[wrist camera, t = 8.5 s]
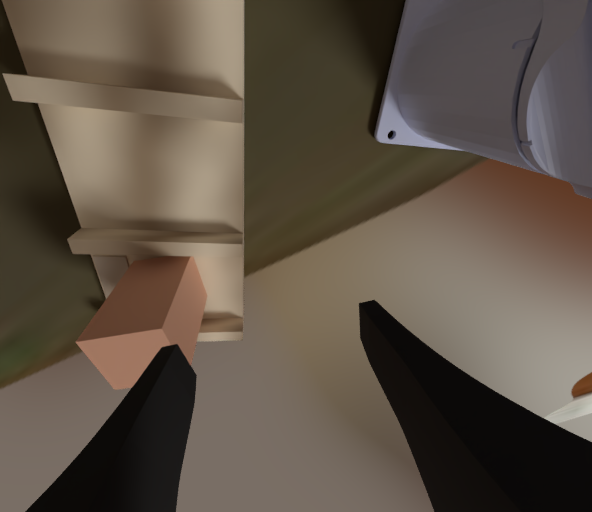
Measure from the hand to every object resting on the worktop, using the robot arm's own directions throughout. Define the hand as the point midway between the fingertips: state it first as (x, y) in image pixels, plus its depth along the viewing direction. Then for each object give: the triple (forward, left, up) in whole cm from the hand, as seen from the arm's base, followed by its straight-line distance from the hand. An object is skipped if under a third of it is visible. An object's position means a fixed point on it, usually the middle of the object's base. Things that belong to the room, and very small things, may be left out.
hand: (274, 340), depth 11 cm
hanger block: (+7, +4, -9) cm, 12 cm away
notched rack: (+7, -3, -10) cm, 13 cm away
